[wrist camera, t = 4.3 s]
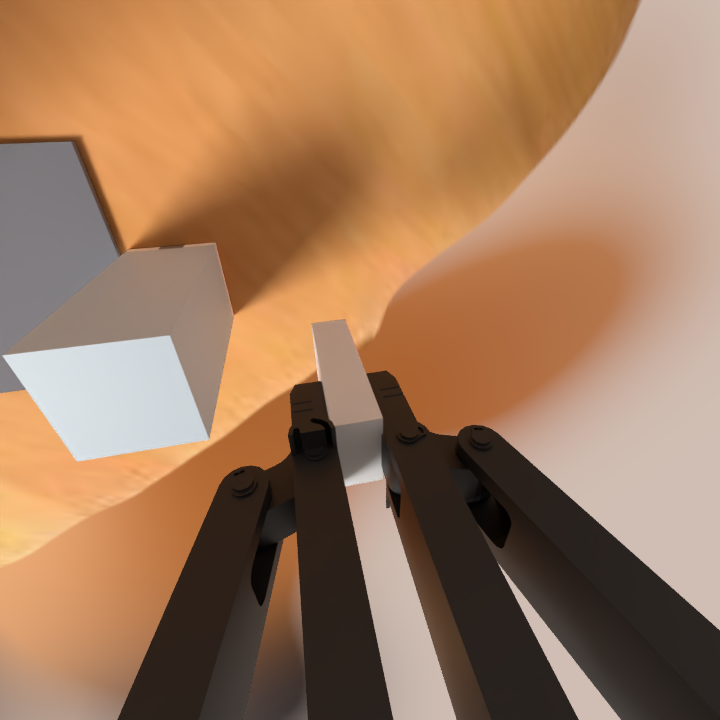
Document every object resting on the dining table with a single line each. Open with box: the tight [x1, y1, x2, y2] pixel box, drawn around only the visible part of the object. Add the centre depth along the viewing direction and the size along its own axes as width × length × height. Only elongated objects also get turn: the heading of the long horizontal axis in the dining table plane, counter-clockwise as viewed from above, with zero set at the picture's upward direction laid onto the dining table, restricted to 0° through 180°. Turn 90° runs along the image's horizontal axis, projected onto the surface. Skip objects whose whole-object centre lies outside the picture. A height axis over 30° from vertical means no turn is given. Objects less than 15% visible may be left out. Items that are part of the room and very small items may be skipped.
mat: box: [0, 141, 121, 393], centre depth 21 cm, size 14×13×1 cm
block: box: [2, 242, 234, 461], centre depth 18 cm, size 5×5×12 cm
